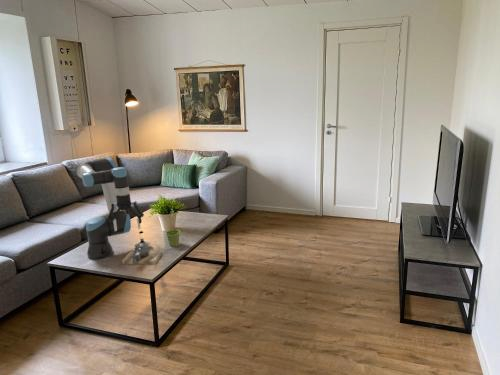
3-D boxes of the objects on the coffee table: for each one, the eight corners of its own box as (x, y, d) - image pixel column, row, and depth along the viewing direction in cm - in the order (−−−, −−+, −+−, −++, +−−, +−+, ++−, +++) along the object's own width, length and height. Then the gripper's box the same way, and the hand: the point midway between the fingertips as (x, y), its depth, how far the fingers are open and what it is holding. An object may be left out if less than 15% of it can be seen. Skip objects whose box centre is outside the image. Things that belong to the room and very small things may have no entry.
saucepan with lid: (138, 252, 234) (136, 241, 232) (150, 252, 234) (149, 241, 232) (128, 264, 219) (127, 252, 217) (142, 264, 218) (140, 252, 216)
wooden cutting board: (122, 263, 225) (122, 260, 224) (131, 253, 238) (130, 250, 238) (156, 263, 223) (155, 260, 223) (162, 253, 237) (162, 250, 236)
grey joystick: (148, 227, 248) (133, 229, 246) (149, 232, 239) (132, 234, 236) (150, 244, 252) (135, 246, 249) (151, 250, 242) (135, 252, 240)
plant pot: (182, 246, 247) (180, 233, 245) (167, 248, 244) (166, 235, 242) (180, 240, 256) (179, 228, 253) (166, 242, 253) (165, 230, 251)
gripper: (98, 197, 211) (104, 233, 216) (143, 194, 212) (147, 230, 217) (102, 194, 219) (108, 229, 223) (146, 191, 220) (150, 225, 224)
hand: (127, 229), depth 220 cm, fingers open, 13 cm apart
